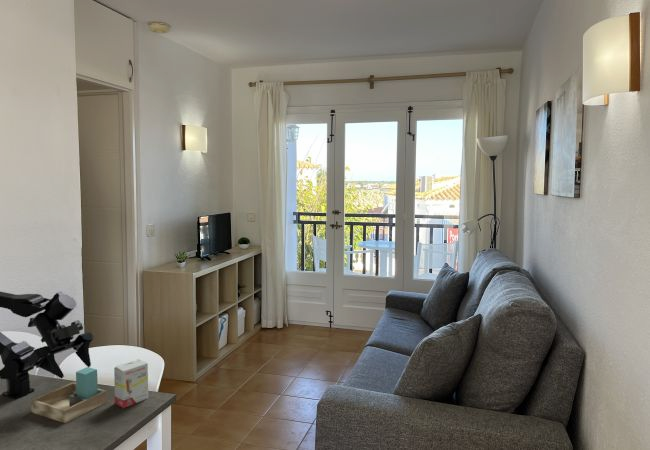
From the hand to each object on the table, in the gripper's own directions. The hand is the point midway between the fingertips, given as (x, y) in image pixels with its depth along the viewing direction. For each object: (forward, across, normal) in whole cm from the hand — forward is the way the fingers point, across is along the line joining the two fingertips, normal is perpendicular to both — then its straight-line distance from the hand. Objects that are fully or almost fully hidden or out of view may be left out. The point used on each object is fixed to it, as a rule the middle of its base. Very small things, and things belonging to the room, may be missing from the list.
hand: (76, 371), depth 147 cm
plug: (+10, 0, +4) cm, 10 cm away
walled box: (+8, -3, +7) cm, 10 cm away
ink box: (+17, +8, -2) cm, 19 cm away
